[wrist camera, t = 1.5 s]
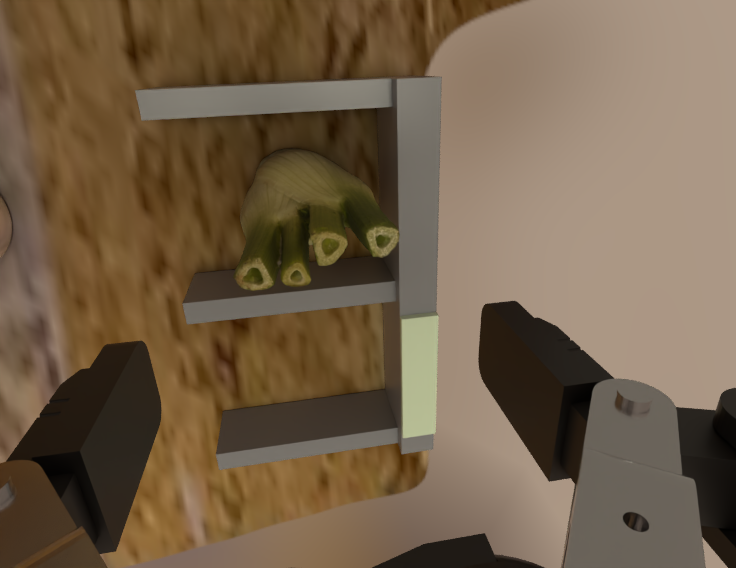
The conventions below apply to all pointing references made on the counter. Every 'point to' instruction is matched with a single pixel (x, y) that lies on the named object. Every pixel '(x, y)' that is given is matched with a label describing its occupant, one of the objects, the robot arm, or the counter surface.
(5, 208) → the beer glass
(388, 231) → the fennel bulb
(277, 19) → the counter surface
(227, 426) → the comb rack
